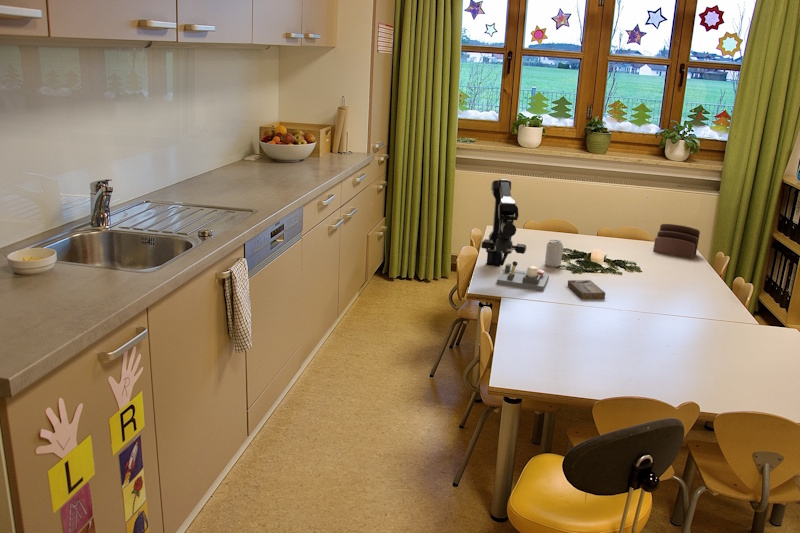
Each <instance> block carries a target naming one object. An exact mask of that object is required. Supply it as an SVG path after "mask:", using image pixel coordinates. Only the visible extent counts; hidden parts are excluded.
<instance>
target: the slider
mask: <svg viewBox="0 0 800 533" xmlns="http://www.w3.org/2000/svg"><path fill="white" fill-rule="evenodd" d="M504 269H505V271H507V272H510V270H511V269H512V263H506V265H505V267H504Z"/></svg>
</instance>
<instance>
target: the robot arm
mask: <svg viewBox="0 0 800 533" xmlns="http://www.w3.org/2000/svg"><path fill="white" fill-rule="evenodd" d="M490 187H491V188H490V189H491V190H490V191H492V192H491V195H492V196H493V198H494V207H493V208H494V210H493V211H494V212H493V223H492V224H493V225H492V230H491V232H490V233H489V235H488V239H487V238H485V239H483V241H482V242H481V249H485V252H486V253H487V256H486V258H487V259H486V263H485V265H486V266H492V267H501V266H504V264H505V262H506V259H507V257H508V256H509V255H510V254H512V253H513V252H514V251H515V253H516V254H522V255H524V254H525V253H526V251H527V245H526V244H523V243H516V245H515V244H513V241H512V237H513V236H515V235H516V234H517V233H516V232H517V227H516V225H515V223H514V221H518V218H519V207H518V205H517V203H516V201H515V199H514V198H512V194H511V191H512V181H511V180H510V179H506V178H500V179H497V180H496V179H495V180H493V181H492V182H491V186H490Z"/></svg>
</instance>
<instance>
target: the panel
mask: <svg viewBox="0 0 800 533" xmlns="http://www.w3.org/2000/svg"><path fill="white" fill-rule="evenodd" d="M511 270H512V268H511ZM511 270H510V272H507V271H505V268H504V269H502V270H501V271H502V272H501V273H500V274H499V276H498V277H497V279H496V285H500V286H508V287H513V288H514V287H515V288H520V289H525V290H535V291H540V292H544V290H545V288H546V286H547V283H548V282H549V279H550V274H548V273H544V274H543V276H542V277H541V275H537V278H529V277H527V270H519V269H515V271H514V274H513V276H510V273H511Z"/></svg>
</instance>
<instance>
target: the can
mask: <svg viewBox="0 0 800 533" xmlns="http://www.w3.org/2000/svg"><path fill="white" fill-rule="evenodd" d="M563 250H564V244H563V241H561V240H559V239H549V240H548V242H547V244H546V250H545V260H544V263H545V265H546V266H547V267H550V268H558V267H560V266H561V265H562V258H563V252H564V251H563Z"/></svg>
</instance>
